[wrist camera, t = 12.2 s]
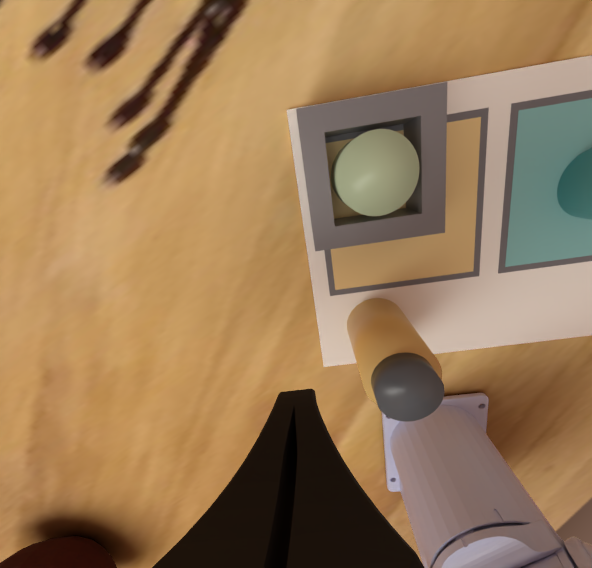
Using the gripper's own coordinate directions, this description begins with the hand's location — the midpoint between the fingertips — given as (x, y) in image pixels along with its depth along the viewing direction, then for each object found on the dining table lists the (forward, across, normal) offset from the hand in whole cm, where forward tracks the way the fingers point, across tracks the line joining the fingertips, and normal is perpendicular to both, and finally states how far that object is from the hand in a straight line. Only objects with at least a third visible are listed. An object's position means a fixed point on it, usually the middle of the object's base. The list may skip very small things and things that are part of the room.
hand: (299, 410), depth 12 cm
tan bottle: (+10, -5, +2) cm, 11 cm away
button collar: (+10, -5, -8) cm, 14 cm away
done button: (+10, -5, -8) cm, 13 cm away
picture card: (+10, -13, -4) cm, 17 cm away
